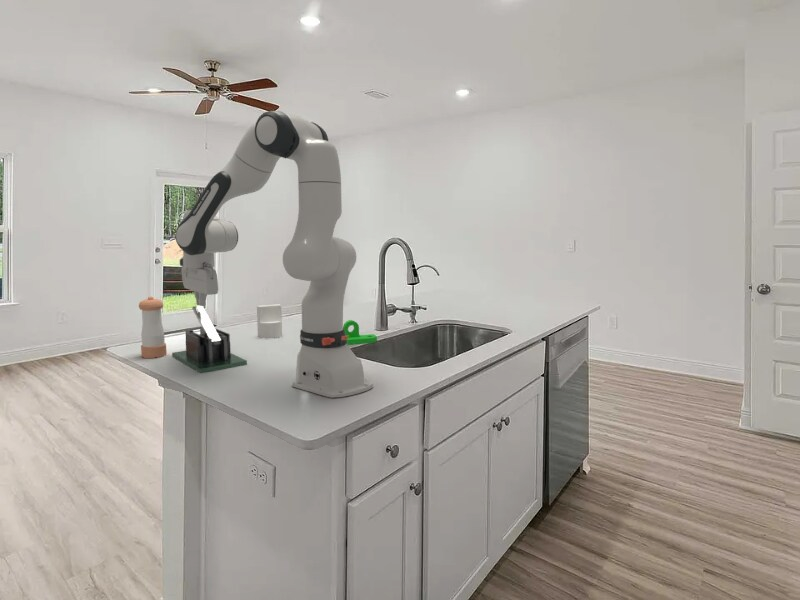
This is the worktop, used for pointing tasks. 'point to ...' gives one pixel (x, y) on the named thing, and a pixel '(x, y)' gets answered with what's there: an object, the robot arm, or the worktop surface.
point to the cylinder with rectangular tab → (269, 321)
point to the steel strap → (207, 325)
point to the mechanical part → (357, 334)
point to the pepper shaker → (152, 329)
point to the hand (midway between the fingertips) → (201, 305)
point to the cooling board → (208, 352)
